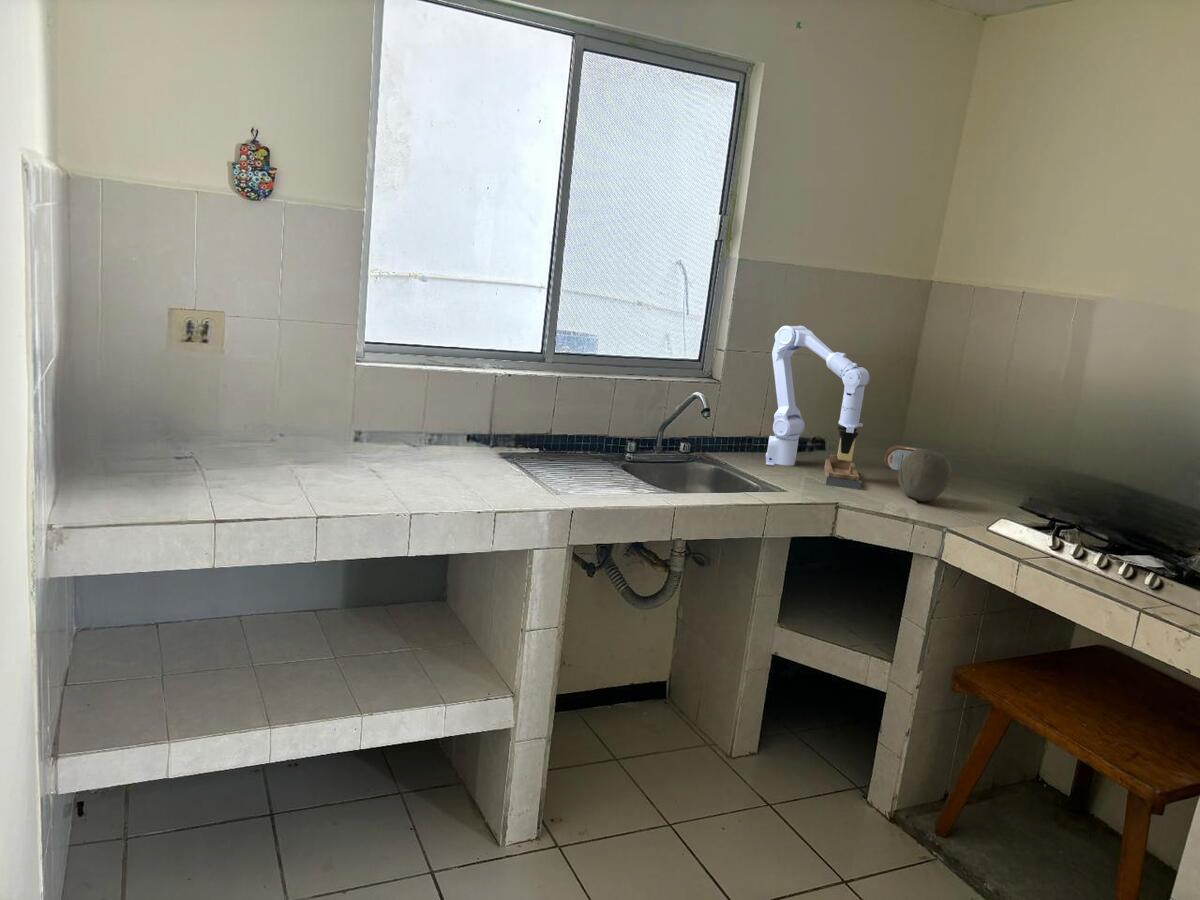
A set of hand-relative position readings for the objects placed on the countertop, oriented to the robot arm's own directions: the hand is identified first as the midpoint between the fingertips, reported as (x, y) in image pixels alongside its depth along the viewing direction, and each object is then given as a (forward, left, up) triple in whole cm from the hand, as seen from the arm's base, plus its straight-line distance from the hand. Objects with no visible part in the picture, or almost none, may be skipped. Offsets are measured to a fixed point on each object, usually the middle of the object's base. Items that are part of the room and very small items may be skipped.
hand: (844, 451), depth 284 cm
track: (0, +2, -9) cm, 9 cm away
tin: (+23, +25, -9) cm, 35 cm away
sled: (0, 0, -8) cm, 8 cm away
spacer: (0, 0, -2) cm, 2 cm away
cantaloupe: (+22, -12, -9) cm, 27 cm away
